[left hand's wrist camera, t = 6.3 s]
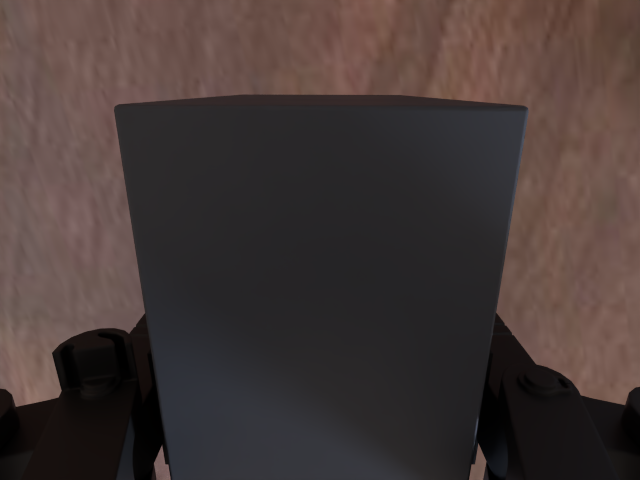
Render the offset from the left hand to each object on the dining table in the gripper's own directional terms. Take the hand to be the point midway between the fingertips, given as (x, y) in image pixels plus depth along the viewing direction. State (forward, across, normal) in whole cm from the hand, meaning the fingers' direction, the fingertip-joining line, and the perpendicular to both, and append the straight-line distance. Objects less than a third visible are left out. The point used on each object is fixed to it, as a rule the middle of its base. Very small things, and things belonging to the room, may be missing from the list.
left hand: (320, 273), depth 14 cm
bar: (0, 0, -21) cm, 21 cm away
